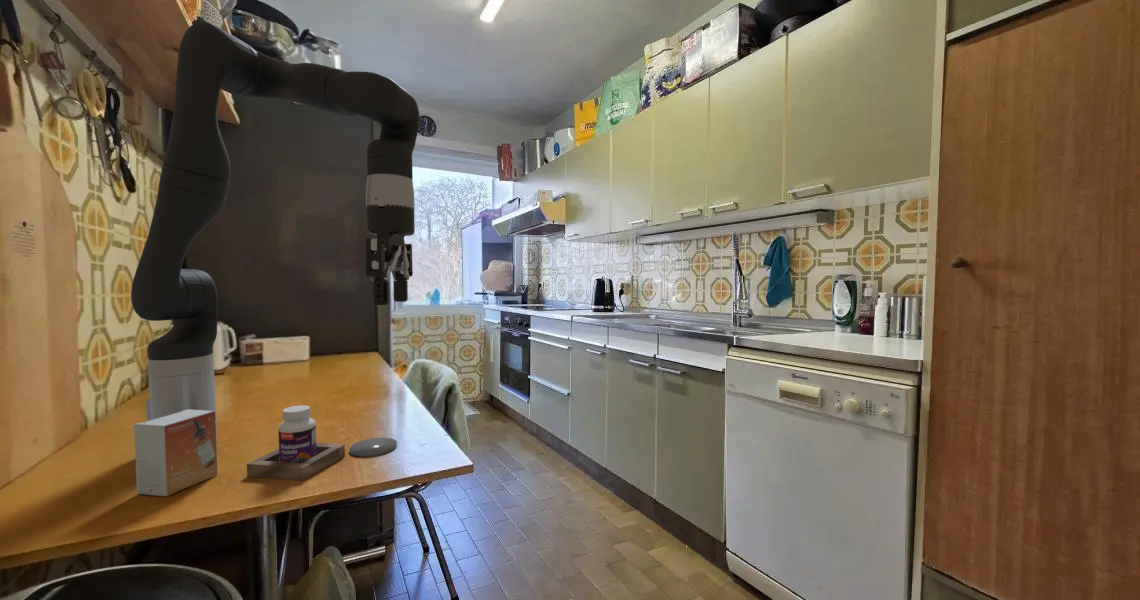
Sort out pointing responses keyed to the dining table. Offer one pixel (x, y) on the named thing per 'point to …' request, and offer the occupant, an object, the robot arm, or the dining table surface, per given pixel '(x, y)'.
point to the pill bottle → (297, 435)
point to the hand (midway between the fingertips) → (391, 303)
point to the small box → (175, 452)
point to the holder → (295, 471)
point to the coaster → (373, 447)
